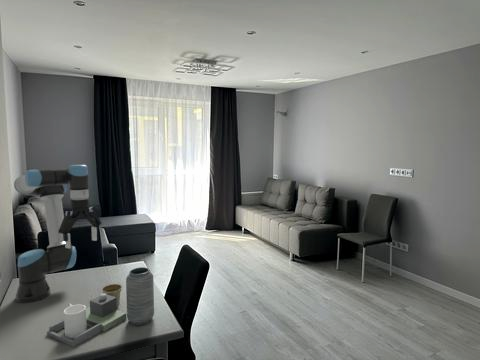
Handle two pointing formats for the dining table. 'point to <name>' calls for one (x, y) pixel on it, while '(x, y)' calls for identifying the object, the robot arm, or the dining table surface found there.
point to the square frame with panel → (93, 319)
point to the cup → (75, 320)
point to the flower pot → (113, 291)
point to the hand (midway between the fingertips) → (81, 244)
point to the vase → (140, 296)
